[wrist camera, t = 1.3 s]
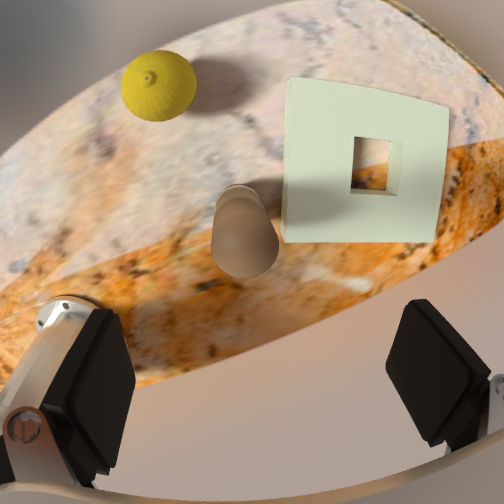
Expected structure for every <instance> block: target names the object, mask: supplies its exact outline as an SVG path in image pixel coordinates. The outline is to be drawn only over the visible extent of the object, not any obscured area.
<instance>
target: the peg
mask: <svg viewBox="0 0 504 504" xmlns="http://www.w3.org/2000/svg"><path fill="white" fill-rule="evenodd" d="M214 212H215V214H214V222H213V231H212V240H211V253H212V257H213V259H214V261H215V263H216V265H217V266H218V267H219V268H220V269H221V270H222V271H223V272H225V273H226V274H228V275H231V276H233V277H237V278H251V277H255V276H258V275H260V274H262V273H264V272H265V271H266V270H268V269H269V268H270V267H271V266H272V264H273V263H274V261H275V260H276V258H277V255H278V251H279V241H278V237H277V234H276V232H275V230H274V228H273V225H272V223H271V221H270V219H269V217H268V215H267V213H266V211H265V209H264V207H263V204H262V201H261V199H260V197H259V195H258V194H257V193H256V192H255V191H254V190H253V189H251V188H249V187H247V186H245V185H241V184H234V185H231V186H228V187H227V188H226V189H225V190H224V191H223V192H221V194H220V195H219V196H218V198H217V200H216V203H215V209H214Z"/></svg>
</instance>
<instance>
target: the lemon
mask: <svg viewBox="0 0 504 504" xmlns="http://www.w3.org/2000/svg"><path fill="white" fill-rule="evenodd" d="M196 89H197V79H196V74H195V72H194V70H193V67H192V66H191V65H190V63H189V62H188V61H187V60H186V59H185V58H183V57H182V56H180V55H179V54H177V53H174V52H171V51H164V50H156V51H150V52H147V53H145V54H142V55H140V56H139V57H137V58H136V59H135V60H133V61H132V62H131V63H130V65H129V66H128V67H127V68H126V70H125V72H124V74H123V77H122V80H121V95H122V99H123V101H124V103H125V105H126V106H127V108H128V109H129V110H130V111H131V112H132V113H133V114H134V115H136V116H138V117H140V118H141V119H144V120H148V121H152V122H158V121H166V120H170V119H173V118H175V117H176V116H178V115H180V114H181V113H183V112H184V111H185V110H186V109H187V108H188V107H189V105H190V104H191V103H192V101H193V99H194V96H195V94H196Z"/></svg>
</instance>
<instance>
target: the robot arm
mask: <svg viewBox="0 0 504 504" xmlns="http://www.w3.org/2000/svg"><path fill="white" fill-rule="evenodd" d="M36 331H37V336H36V338H35V339H34V341H33V342H32V343H31V345H30V346H29V348H28V349H27V351H26V352H25V354H24V355H23V357H22V358H21V360H20V361H19V363H18V365H17V366H16V368H15V369H14V371H13V372H12V374H11V376H10V377H9V379H8V380H7V382H6V384H5V385H4V387H3V389H2V390H1V392H0V504H504V374H497V375H495V376H493V378H492V379H491V381H489V380H488V379H487V378H488V376H489V375H490V373H491V370H490V369H489V368H488V367H487V365H486V364H485V363H484V362H483V361H482V359H481V358H480V357H479V356H478V355H477V354H476V352H475V351H474V350H473V349H472V348H471V347H470V346H469V344H468V343H467V342H466V341H465V340H464V339H463V338H462V336H460V334H459V333H458V332H457V331H456V330H455V329H454V328H453V327H452V325H451V324H450V323H449V322H448V321H447V320H446V319H445V318H444V317H443V316H442V315H441V314H440V313H439V312H438V310H437V309H435V307H434V306H433V305H432V304H431V303H430V302H429V301H428V300H426V299H417V300H411V301H410V302H409V303H408V305H406V306H405V308H404V311H403V314H402V317H401V321H400V324H399V327H398V330H397V333H396V336H395V339H394V342H393V345H392V347H391V350H390V353H389V356H388V358H387V361H386V372H387V374H388V375H389V377H390V379H391V381H392V382H393V384H394V386H395V388H396V390H397V392H398V393H399V395H400V397H401V399H402V401H403V403H404V404H405V406H406V408H407V410H408V412H409V414H410V415H411V417H412V419H413V421H414V423H415V425H416V427H417V429H418V431H419V433H420V435H421V437H422V438H423V440H425V441H427V442H428V444H429V446H430V447H434V446H436V445H439V444H441V443H443V442H444V440H445V441H446V442H447V447H446V451H445V455H444V456H442V457H440V458H438V459H435V460H433V461H430V462H428V463H425V464H422V465H420V466H417V467H414V468H412V469H409V470H406V471H403V472H400V473H397V474H394V475H390V476H387V477H384V478H381V479H377V480H373V481H370V482H366V483H362V484H358V485H354V486H350V487H345V488H341V489H336V490H331V491H326V492H321V493H315V494H308V495H302V496H294V497H286V498H277V499H266V500H252V501H223V502H222V501H215V502H214V501H211V502H210V501H185V500H184V501H183V500H171V499H160V498H149V497H141V496H134V495H127V494H120V493H115V492H109V491H104V490H98V488H97V487H96V485H95V483H94V482H93V480H94V479H95V475H96V473H98V474H102V475H109V471H110V468H114V467H115V465H116V462H117V457H118V453H119V448H120V444H121V439H122V434H123V430H124V427H125V422H126V418H127V414H128V411H129V407H130V403H131V399H132V395H133V391H134V388H135V382H136V379H135V373H134V370H133V367H132V363H131V360H130V357H129V348H128V344H127V340H126V338H125V336H124V334H123V331H122V327H121V323H120V319H119V316H118V314H114V313H113V311H112V310H111V309H101V308H99V307H97V306H96V305H94V304H93V303H90V302H88V301H86V300H84V299H81V298H77V297H73V296H58V297H55V298H52V299H50V300H49V301H47V302H46V303H45V304H44V305H43V306H42V308H41V309H40V310H39V312H38V314H37V318H36Z"/></svg>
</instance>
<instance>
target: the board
mask: <svg viewBox="0 0 504 504" xmlns="http://www.w3.org/2000/svg"><path fill="white" fill-rule="evenodd" d="M448 128H449V108H448V107H444V106H441V105H438V104H435V103H431V102H428V101H424V100H420V99H417V98H413V97H409V96H405V95H401V94H397V93H392V92H388V91H383V90H379V89H374V88H369V87H363V86H358V85H352V84H346V83H340V82H333V81H325V80H317V79H309V78H299V77H291V78H290V79H288V80H287V81H286V102H285V136H284V163H283V186H282V207H281V227H280V234H281V236H282V238H283V240H284V242H285V243H314V242H433V240H434V235H435V230H436V225H437V220H438V214H439V208H440V202H441V196H442V189H443V182H444V174H445V165H446V155H447V143H448ZM354 136H356V137H364V138H372V139H379V140H386V141H390V150H389V162H388V172H387V182H386V191H382V190H369V189H353V188H351V177H352V165H353V151H354Z"/></svg>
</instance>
